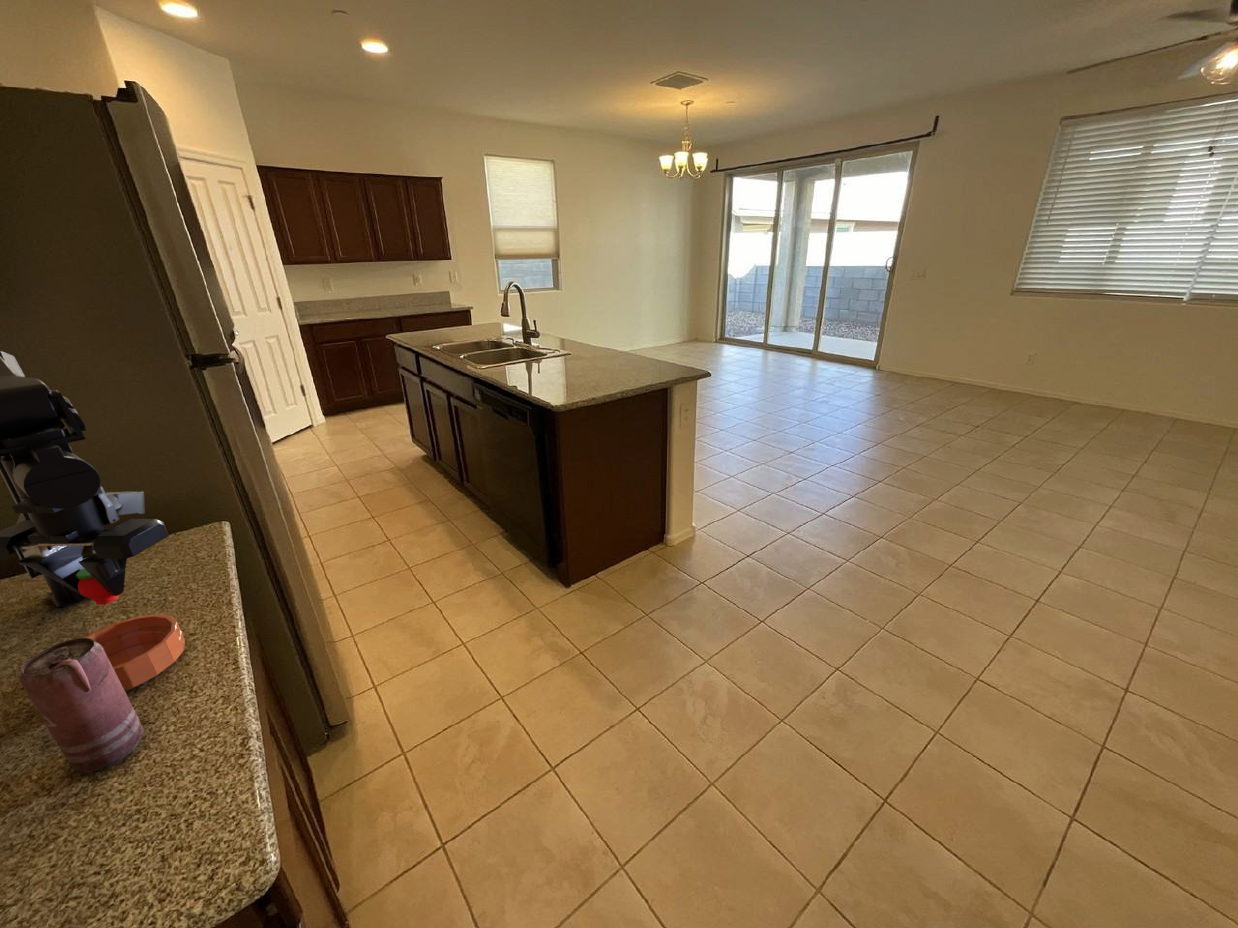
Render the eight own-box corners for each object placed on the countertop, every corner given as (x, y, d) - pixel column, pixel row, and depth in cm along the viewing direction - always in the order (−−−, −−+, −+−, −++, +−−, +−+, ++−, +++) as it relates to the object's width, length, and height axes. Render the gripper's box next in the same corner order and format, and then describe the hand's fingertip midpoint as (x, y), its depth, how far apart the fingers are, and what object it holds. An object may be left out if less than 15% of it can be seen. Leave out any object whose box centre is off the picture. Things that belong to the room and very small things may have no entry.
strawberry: (82, 603, 67) (67, 572, 65) (121, 587, 70) (107, 558, 68) (92, 612, 65) (77, 581, 63) (132, 596, 68) (118, 566, 66)
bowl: (55, 678, 68) (41, 654, 67) (166, 626, 78) (156, 604, 76) (85, 717, 62) (70, 691, 61) (201, 656, 72) (191, 632, 70)
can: (103, 779, 55) (46, 681, 49) (58, 769, 56) (-2, 672, 51) (160, 732, 60) (115, 638, 55) (118, 723, 61) (70, 631, 56)
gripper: (182, 462, 69) (218, 560, 74) (50, 464, 69) (96, 561, 75) (102, 497, 58) (151, 608, 64) (-52, 499, 59) (10, 609, 65)
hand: (104, 594), depth 67 cm, fingers closed on strawberry, 4 cm apart
